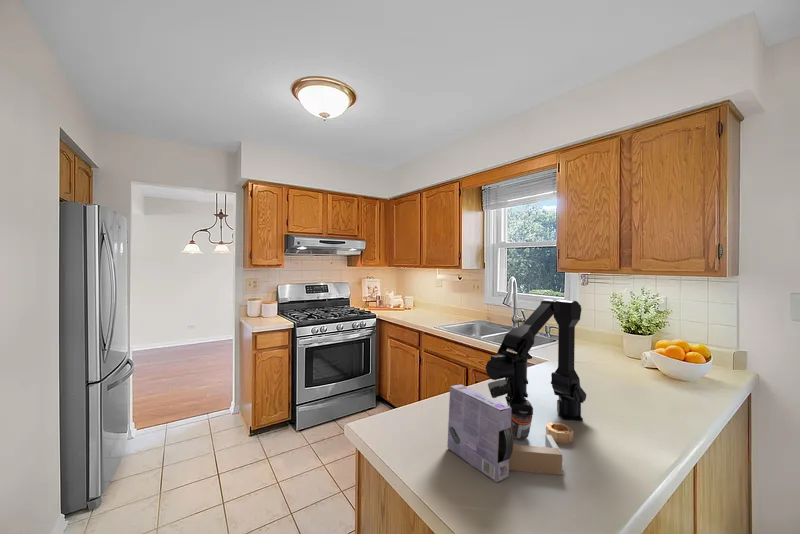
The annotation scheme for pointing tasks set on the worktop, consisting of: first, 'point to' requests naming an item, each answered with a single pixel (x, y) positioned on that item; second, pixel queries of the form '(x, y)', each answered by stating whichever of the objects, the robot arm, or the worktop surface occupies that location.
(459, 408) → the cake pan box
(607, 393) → the worktop surface
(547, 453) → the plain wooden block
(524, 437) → the supplement bottle
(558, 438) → the wooden octagonal ring
